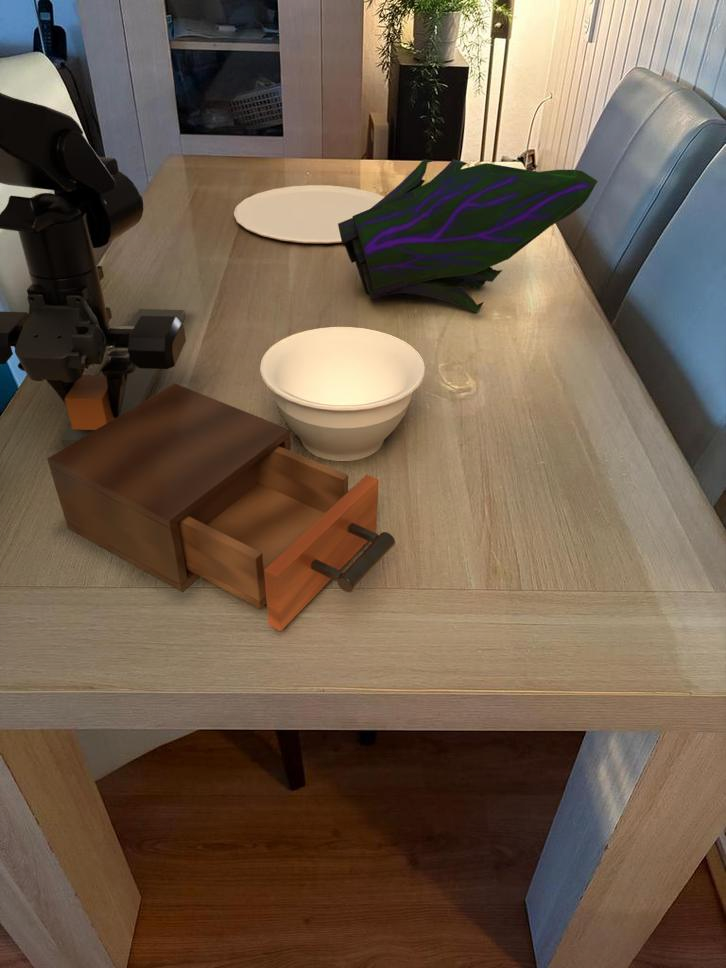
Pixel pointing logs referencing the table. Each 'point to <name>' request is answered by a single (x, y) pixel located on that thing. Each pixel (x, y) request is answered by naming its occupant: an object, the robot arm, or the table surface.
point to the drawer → (285, 533)
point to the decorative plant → (456, 227)
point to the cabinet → (157, 474)
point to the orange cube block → (89, 403)
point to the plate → (303, 212)
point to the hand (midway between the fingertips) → (97, 415)
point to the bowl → (342, 387)
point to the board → (131, 379)
